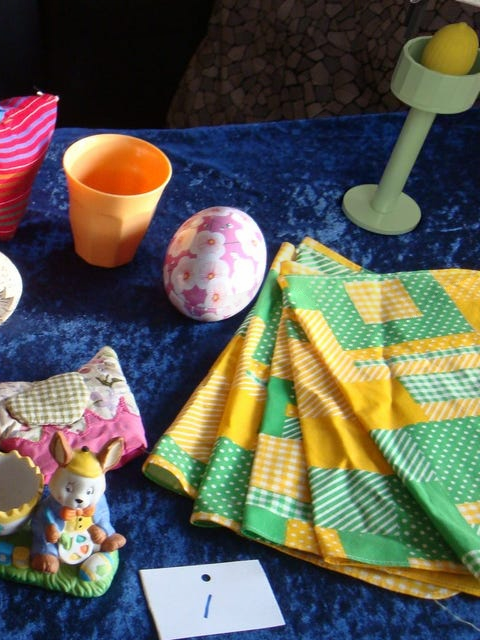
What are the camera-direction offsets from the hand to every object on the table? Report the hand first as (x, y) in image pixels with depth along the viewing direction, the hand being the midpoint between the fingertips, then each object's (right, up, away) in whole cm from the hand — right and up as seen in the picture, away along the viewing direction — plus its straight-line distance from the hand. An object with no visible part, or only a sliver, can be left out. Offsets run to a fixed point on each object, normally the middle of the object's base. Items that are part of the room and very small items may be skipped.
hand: (452, 46), depth 95 cm
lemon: (0, -4, +4) cm, 5 cm away
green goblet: (0, -16, +18) cm, 24 cm away
